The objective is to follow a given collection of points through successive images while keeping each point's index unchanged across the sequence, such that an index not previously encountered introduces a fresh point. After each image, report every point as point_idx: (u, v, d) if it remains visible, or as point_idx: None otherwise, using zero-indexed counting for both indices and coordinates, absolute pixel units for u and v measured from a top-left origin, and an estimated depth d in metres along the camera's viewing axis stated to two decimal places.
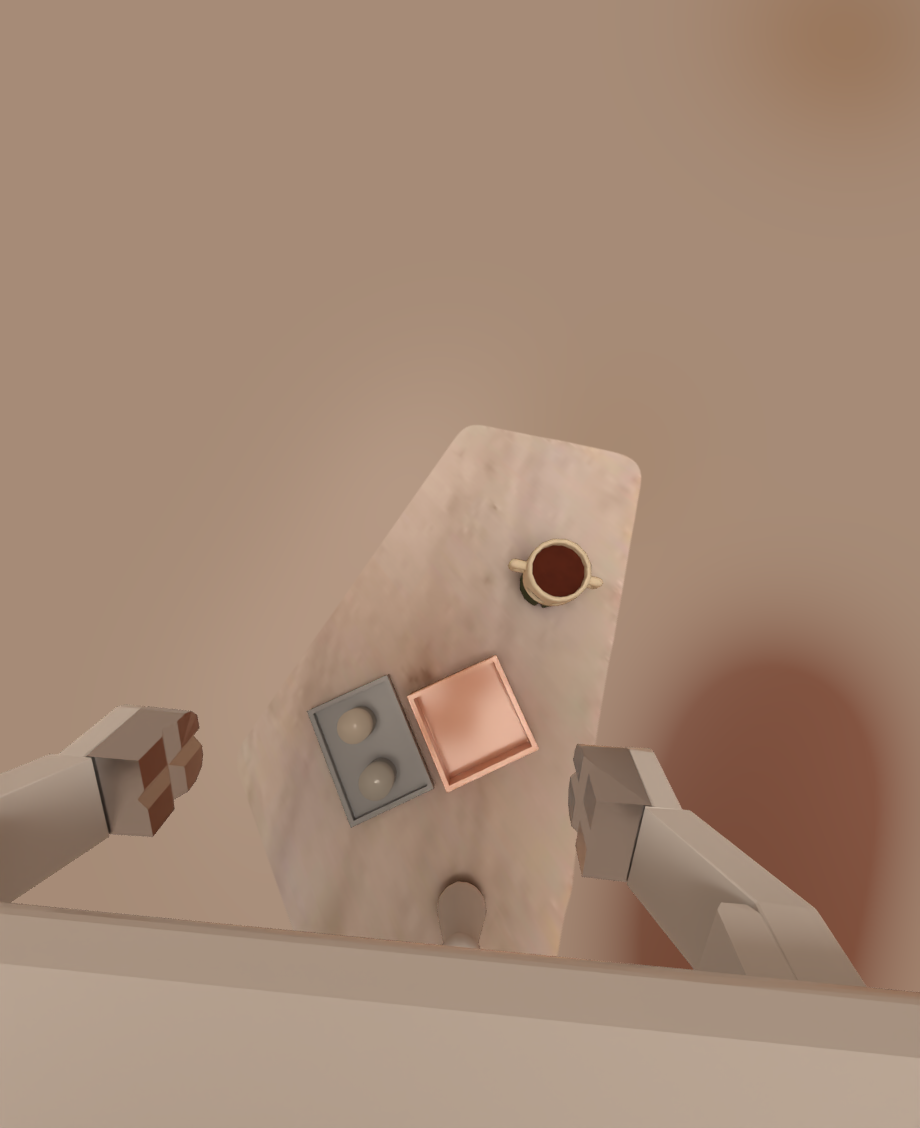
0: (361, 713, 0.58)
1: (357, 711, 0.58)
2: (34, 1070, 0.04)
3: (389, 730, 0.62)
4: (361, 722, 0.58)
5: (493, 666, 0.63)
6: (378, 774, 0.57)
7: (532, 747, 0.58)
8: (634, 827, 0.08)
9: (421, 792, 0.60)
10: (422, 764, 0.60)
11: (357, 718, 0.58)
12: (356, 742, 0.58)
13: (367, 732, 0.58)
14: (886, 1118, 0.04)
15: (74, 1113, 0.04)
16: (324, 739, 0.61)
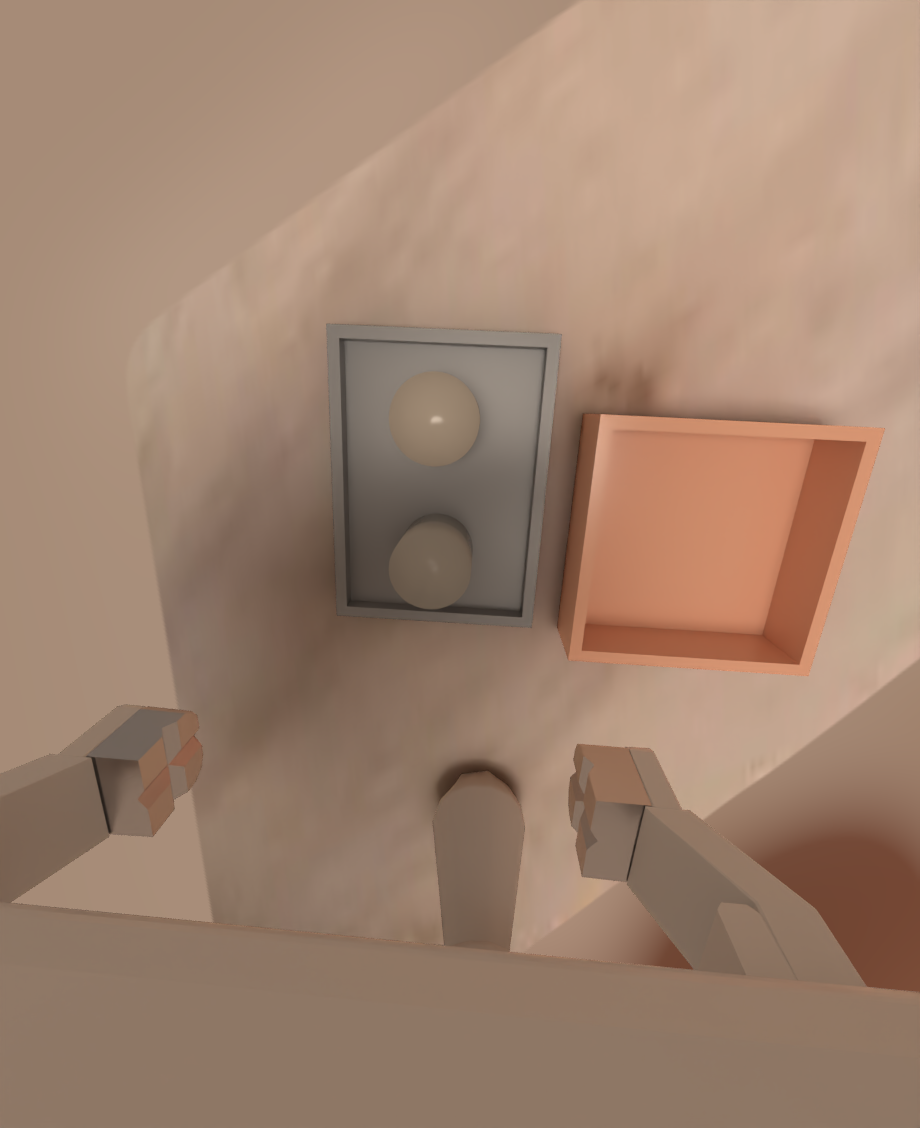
0: (469, 396, 0.21)
1: (461, 385, 0.20)
2: (34, 1070, 0.04)
3: (496, 470, 0.25)
4: (459, 419, 0.21)
5: (808, 450, 0.24)
6: (445, 557, 0.23)
7: (798, 666, 0.24)
8: (634, 827, 0.08)
9: (504, 622, 0.27)
10: (534, 574, 0.26)
11: (453, 404, 0.21)
12: (425, 462, 0.21)
13: (463, 452, 0.21)
14: (886, 1118, 0.04)
15: (74, 1113, 0.04)
16: (344, 415, 0.25)
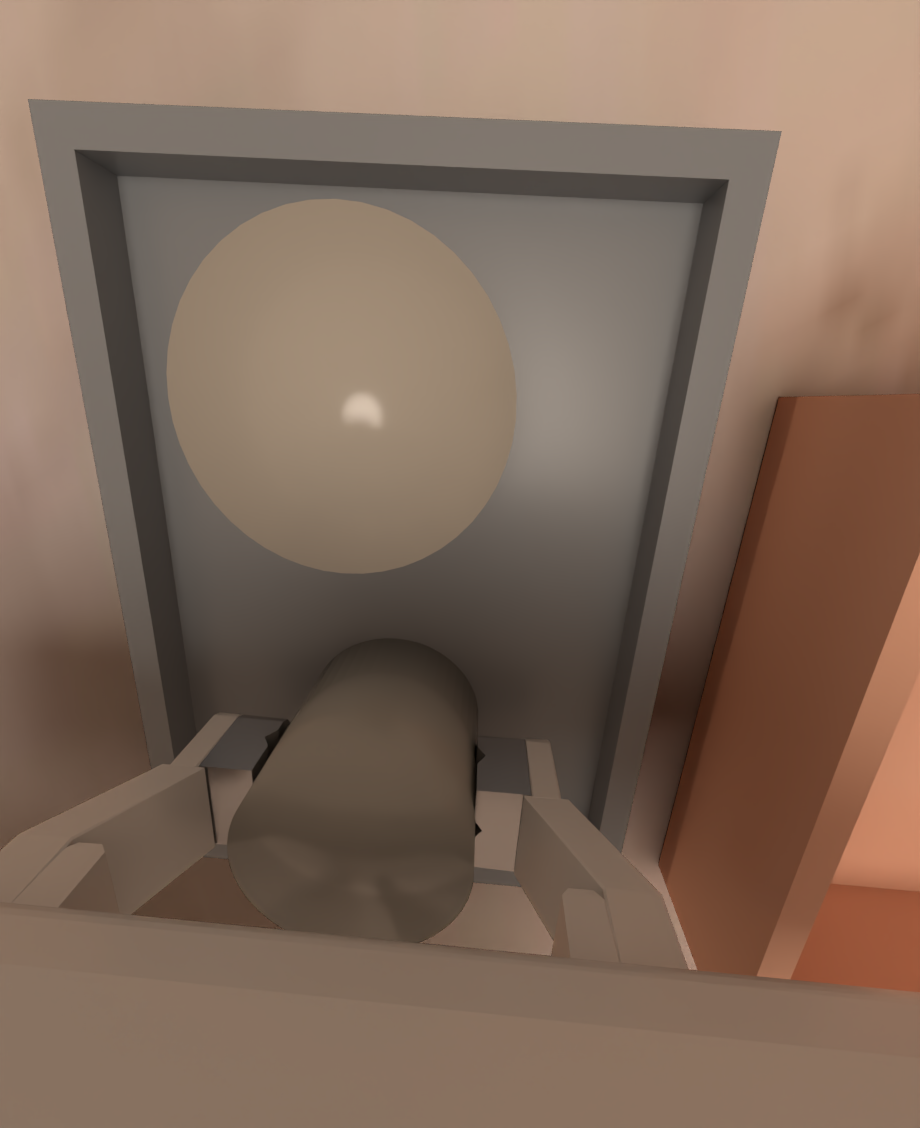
0: (479, 311, 0.05)
1: (447, 264, 0.05)
2: (34, 1070, 0.04)
3: (543, 542, 0.10)
4: (438, 406, 0.05)
5: None
6: (395, 835, 0.07)
7: None
8: (516, 817, 0.08)
9: None
10: (627, 791, 0.11)
11: (415, 343, 0.05)
12: (318, 558, 0.06)
13: (451, 526, 0.06)
14: (886, 1118, 0.04)
15: (74, 1113, 0.04)
16: (136, 394, 0.09)
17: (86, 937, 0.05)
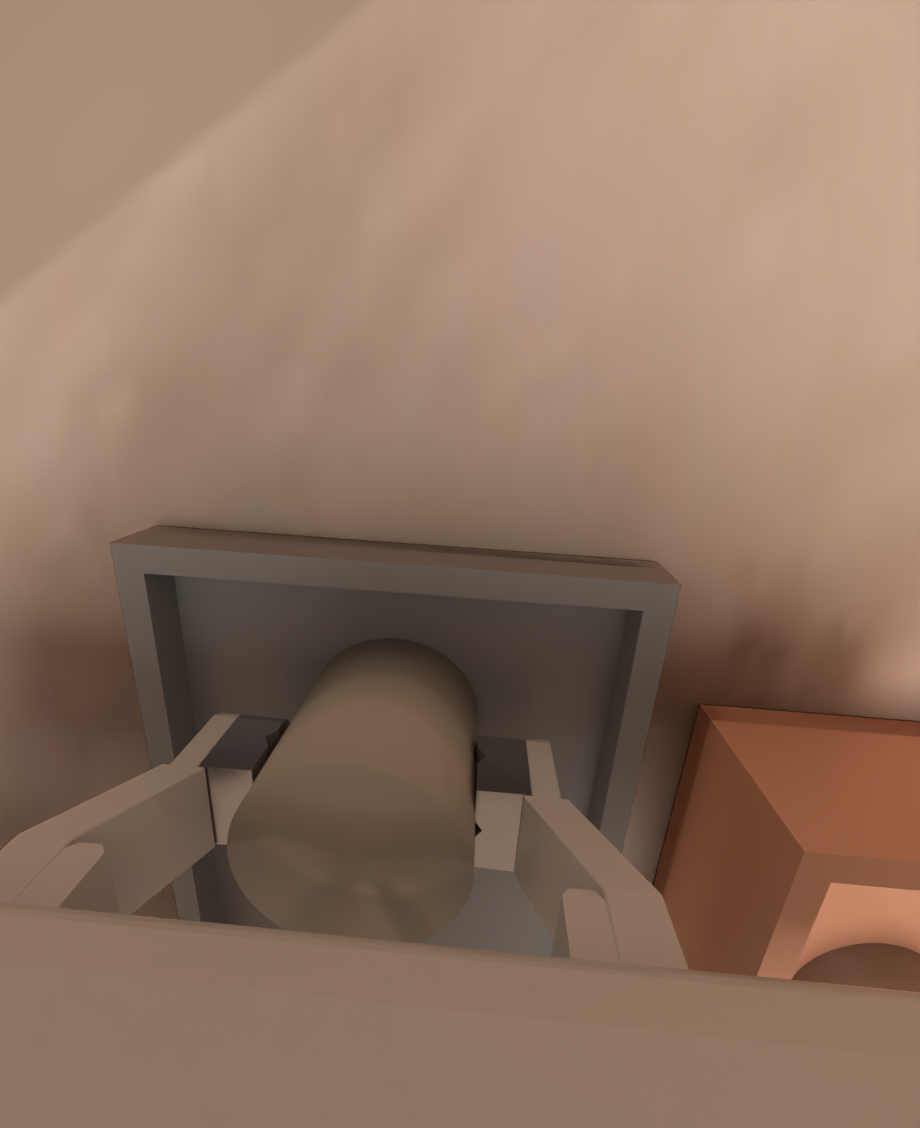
0: (446, 822, 0.07)
1: (424, 798, 0.07)
2: (34, 1070, 0.04)
3: None
4: (418, 868, 0.08)
5: None
6: None
7: None
8: (515, 817, 0.08)
9: None
10: None
11: (402, 836, 0.07)
12: None
13: (429, 929, 0.08)
14: (886, 1118, 0.04)
15: (74, 1113, 0.04)
16: (183, 707, 0.11)
17: (86, 937, 0.05)
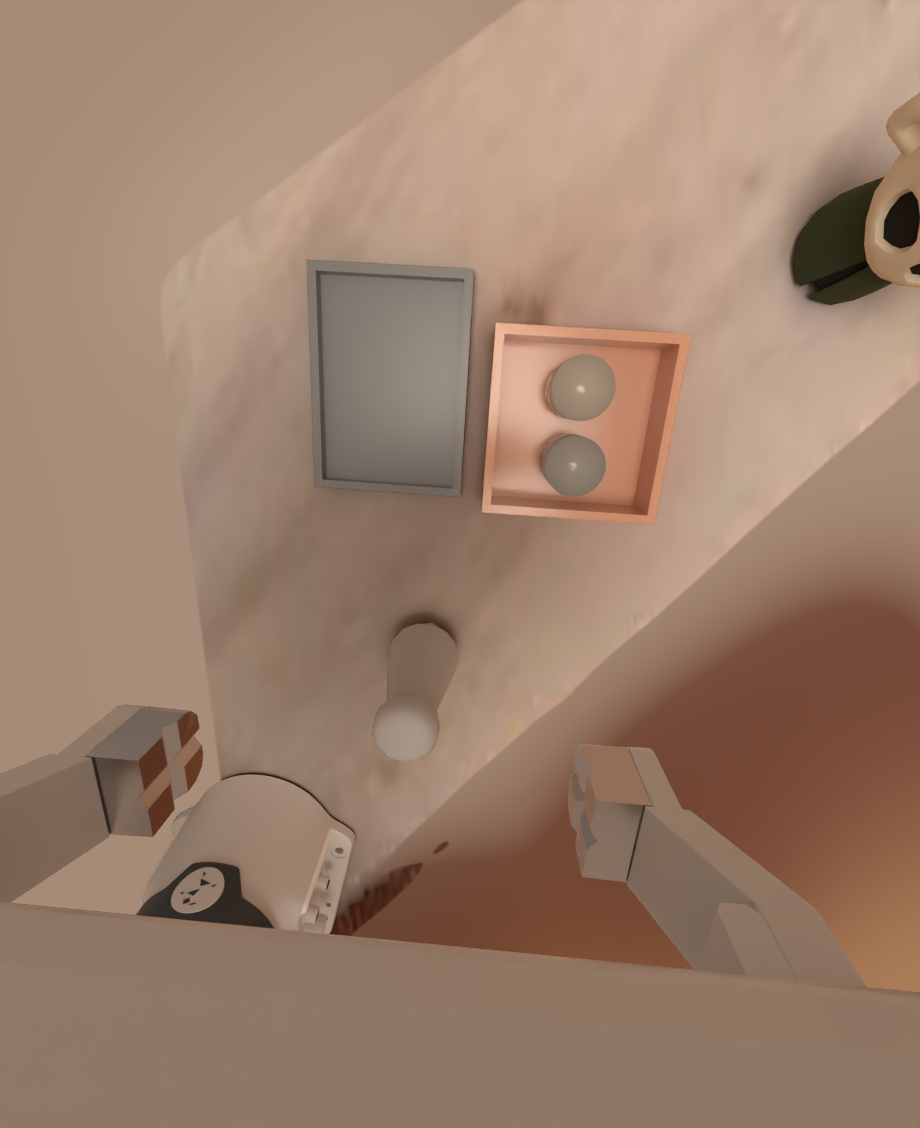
0: (610, 371, 0.30)
1: (605, 364, 0.30)
2: (34, 1070, 0.04)
3: (432, 374, 0.35)
4: (601, 388, 0.30)
5: (656, 359, 0.33)
6: (588, 457, 0.32)
7: (646, 517, 0.33)
8: (634, 827, 0.08)
9: (439, 492, 0.36)
10: (460, 454, 0.35)
11: (598, 377, 0.30)
12: (575, 417, 0.31)
13: (601, 410, 0.31)
14: (886, 1118, 0.04)
15: (74, 1113, 0.04)
16: (320, 330, 0.34)
17: (86, 937, 0.05)
